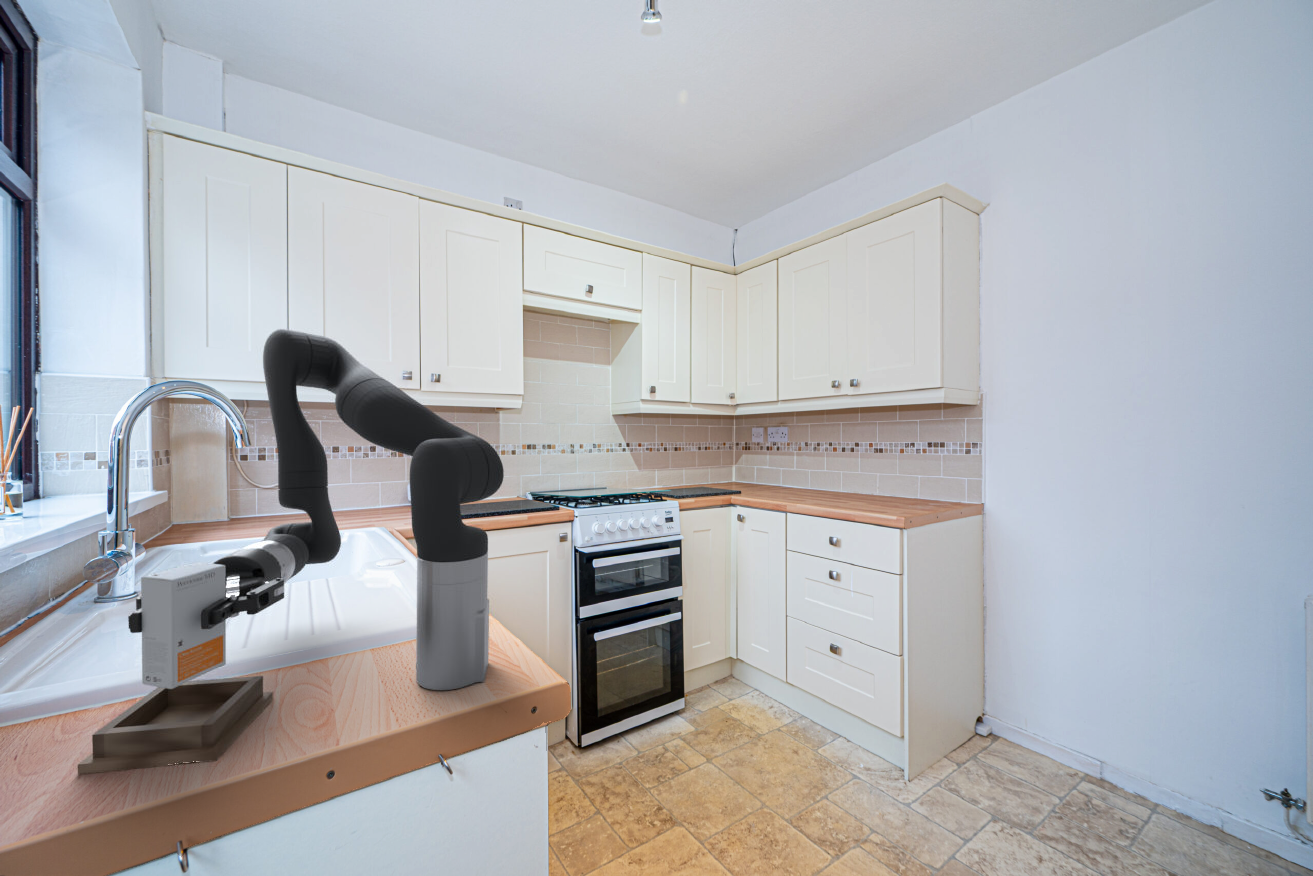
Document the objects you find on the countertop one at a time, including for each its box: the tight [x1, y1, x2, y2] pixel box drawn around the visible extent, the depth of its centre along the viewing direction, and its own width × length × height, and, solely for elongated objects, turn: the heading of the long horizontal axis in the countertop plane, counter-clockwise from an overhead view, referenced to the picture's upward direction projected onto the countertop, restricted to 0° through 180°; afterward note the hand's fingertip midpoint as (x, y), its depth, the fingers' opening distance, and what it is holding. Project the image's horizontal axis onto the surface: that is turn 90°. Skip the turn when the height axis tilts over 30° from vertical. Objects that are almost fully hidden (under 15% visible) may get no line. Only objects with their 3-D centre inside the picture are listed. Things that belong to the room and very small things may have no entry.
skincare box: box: [140, 561, 227, 689], centre depth 60 cm, size 6×4×12 cm
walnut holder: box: [77, 675, 274, 775], centre depth 60 cm, size 12×12×4 cm
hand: (170, 622), depth 57 cm, fingers closed on skincare box, 6 cm apart
